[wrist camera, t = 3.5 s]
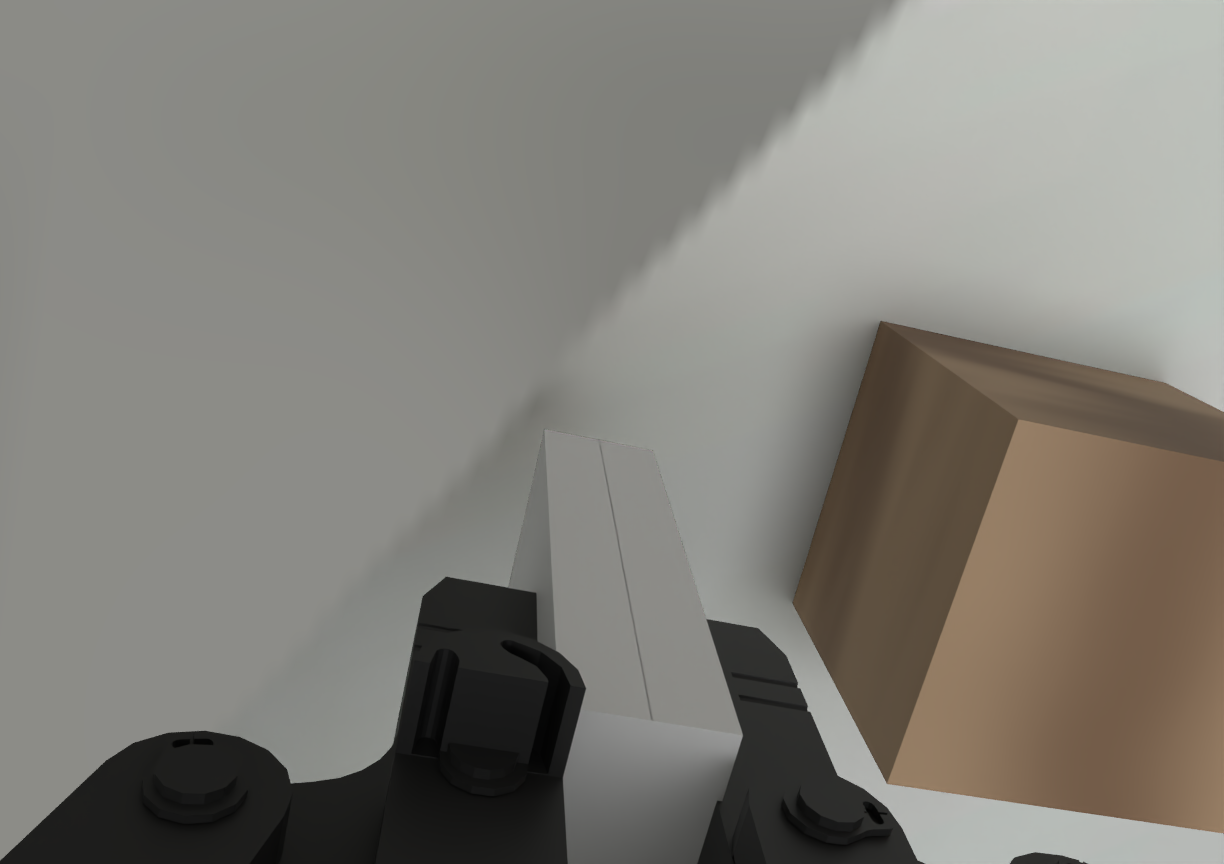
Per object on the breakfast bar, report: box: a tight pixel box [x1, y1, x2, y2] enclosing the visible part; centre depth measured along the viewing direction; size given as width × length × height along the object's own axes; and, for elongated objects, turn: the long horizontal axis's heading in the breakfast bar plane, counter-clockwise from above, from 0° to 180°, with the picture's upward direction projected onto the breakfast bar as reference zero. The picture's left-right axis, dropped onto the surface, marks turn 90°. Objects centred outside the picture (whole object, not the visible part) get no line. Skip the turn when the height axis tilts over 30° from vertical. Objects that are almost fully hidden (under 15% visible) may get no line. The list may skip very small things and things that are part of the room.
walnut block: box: [793, 321, 1224, 833], centre depth 19 cm, size 6×6×6 cm
